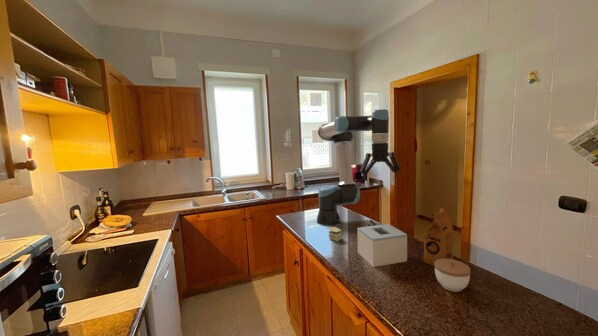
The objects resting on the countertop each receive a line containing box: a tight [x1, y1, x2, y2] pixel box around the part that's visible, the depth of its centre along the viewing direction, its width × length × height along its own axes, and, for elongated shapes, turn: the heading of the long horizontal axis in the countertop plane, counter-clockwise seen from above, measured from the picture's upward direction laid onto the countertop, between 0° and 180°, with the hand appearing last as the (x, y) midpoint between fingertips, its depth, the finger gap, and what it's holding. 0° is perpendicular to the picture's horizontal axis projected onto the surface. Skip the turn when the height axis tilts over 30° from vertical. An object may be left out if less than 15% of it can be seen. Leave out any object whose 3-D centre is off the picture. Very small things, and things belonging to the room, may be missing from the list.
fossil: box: [364, 219, 377, 227], centre depth 134 cm, size 11×9×10 cm
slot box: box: [356, 223, 408, 268], centre depth 109 cm, size 14×16×12 cm
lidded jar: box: [434, 258, 472, 293], centre depth 85 cm, size 11×11×9 cm
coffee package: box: [423, 208, 454, 267], centre depth 102 cm, size 10×12×22 cm
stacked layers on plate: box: [327, 226, 343, 242], centre depth 132 cm, size 10×9×6 cm
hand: (379, 186), depth 120 cm, fingers open, 13 cm apart
